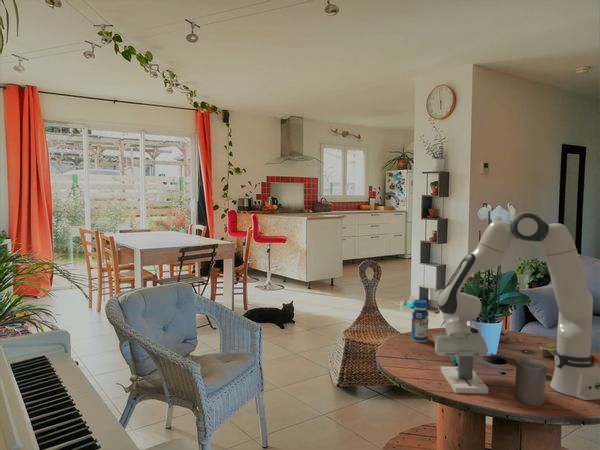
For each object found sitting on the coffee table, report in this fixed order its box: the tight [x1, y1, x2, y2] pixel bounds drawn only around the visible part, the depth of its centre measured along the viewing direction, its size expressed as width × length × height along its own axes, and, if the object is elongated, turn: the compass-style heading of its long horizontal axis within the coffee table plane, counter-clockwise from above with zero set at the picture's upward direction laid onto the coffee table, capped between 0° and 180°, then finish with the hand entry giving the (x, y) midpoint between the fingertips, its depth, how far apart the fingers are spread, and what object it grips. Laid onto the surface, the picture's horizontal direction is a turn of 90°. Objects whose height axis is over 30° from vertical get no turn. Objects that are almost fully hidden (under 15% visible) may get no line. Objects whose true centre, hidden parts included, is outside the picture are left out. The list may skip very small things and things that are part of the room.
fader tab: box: [457, 350, 475, 379], centre depth 180 cm, size 6×2×11 cm, turn 88°
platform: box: [539, 342, 557, 358], centre depth 210 cm, size 12×18×7 cm, turn 106°
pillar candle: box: [514, 357, 547, 407], centre depth 166 cm, size 10×10×15 cm
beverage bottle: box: [410, 299, 430, 343], centre depth 234 cm, size 8×8×20 cm
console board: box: [440, 366, 489, 395], centre depth 182 cm, size 12×21×2 cm, turn 177°
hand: (464, 365), depth 182 cm, fingers closed, pressing on fader tab
